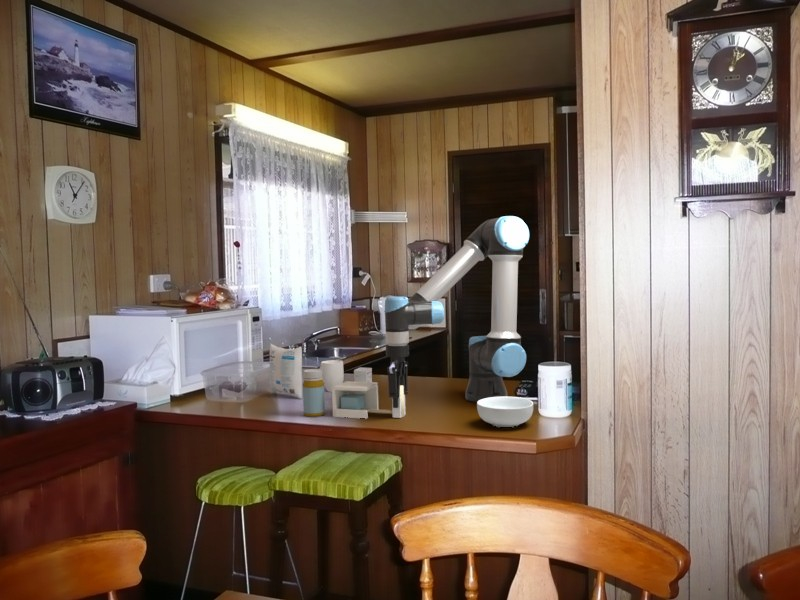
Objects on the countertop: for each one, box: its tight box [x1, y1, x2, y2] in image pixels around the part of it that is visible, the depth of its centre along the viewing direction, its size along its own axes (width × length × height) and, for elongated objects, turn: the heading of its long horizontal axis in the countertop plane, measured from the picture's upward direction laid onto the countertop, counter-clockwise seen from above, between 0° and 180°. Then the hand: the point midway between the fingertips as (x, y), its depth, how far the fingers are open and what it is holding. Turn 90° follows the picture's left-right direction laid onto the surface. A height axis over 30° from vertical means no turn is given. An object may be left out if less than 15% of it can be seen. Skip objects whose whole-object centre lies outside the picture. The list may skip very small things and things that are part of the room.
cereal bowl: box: [476, 395, 534, 428], centre depth 193 cm, size 17×17×7 cm
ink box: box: [353, 367, 373, 382], centre depth 234 cm, size 9×5×12 cm, turn 168°
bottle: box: [302, 368, 326, 418], centre depth 213 cm, size 7×7×15 cm
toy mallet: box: [341, 385, 405, 419], centre depth 210 cm, size 21×6×10 cm, turn 70°
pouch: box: [269, 343, 303, 400], centre depth 246 cm, size 8×19×20 cm, turn 44°
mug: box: [318, 359, 345, 393], centre depth 255 cm, size 12×9×12 cm
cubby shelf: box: [331, 380, 379, 420], centre depth 212 cm, size 12×10×10 cm
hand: (399, 415), depth 207 cm, fingers closed on toy mallet, 3 cm apart
